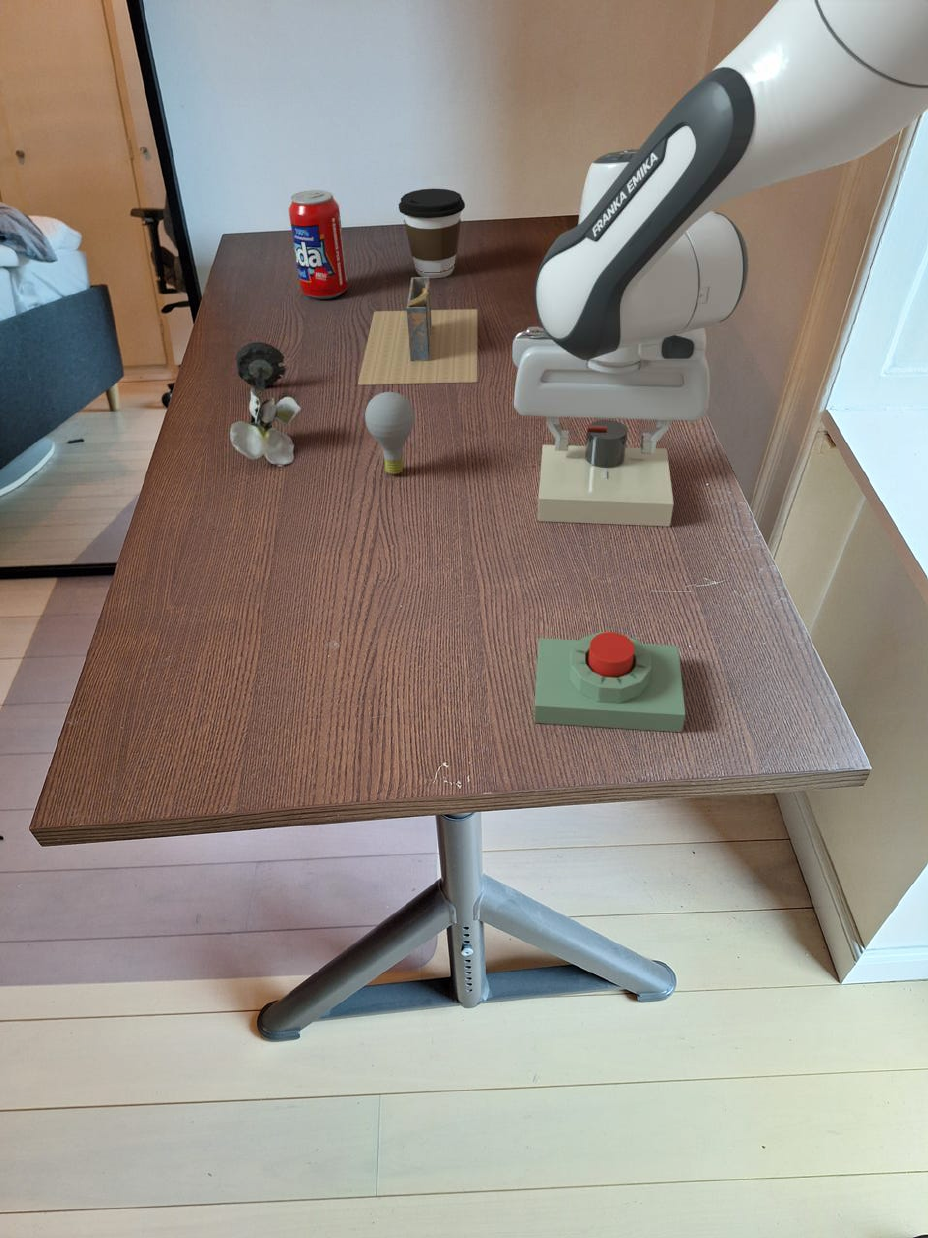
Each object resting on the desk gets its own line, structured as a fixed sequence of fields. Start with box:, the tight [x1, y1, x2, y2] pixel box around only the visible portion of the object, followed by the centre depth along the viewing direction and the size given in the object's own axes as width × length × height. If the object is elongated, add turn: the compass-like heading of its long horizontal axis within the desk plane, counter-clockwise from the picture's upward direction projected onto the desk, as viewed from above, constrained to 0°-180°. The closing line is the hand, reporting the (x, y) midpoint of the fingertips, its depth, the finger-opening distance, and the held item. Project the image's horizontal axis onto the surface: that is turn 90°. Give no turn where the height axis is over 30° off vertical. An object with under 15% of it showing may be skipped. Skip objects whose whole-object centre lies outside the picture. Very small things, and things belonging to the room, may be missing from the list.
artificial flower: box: [229, 341, 302, 468], centre depth 106 cm, size 9×22×10 cm, turn 6°
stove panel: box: [537, 444, 675, 528], centre depth 94 cm, size 14×13×3 cm
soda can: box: [288, 189, 349, 300], centre depth 136 cm, size 8×8×15 cm
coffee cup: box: [398, 188, 466, 279], centre depth 143 cm, size 11×11×12 cm
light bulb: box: [364, 391, 415, 475], centre depth 96 cm, size 6×6×10 cm
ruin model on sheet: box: [357, 276, 479, 386], centre depth 122 cm, size 25×16×10 cm, turn 179°
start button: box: [588, 631, 635, 678], centre depth 70 cm, size 4×4×2 cm
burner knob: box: [585, 419, 629, 468], centre depth 94 cm, size 4×4×4 cm
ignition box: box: [533, 631, 686, 733], centre depth 71 cm, size 12×8×4 cm, turn 84°
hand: (604, 449), depth 94 cm, fingers open, 8 cm apart
